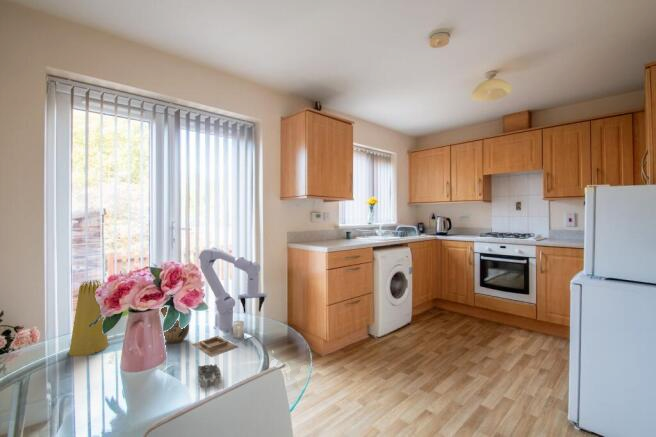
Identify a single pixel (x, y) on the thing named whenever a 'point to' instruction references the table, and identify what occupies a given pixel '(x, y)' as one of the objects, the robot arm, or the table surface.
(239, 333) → the jug
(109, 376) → the table surface
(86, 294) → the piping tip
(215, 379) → the grey speckled lump
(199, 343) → the tray
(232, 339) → the mat
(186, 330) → the ceramic vessel
